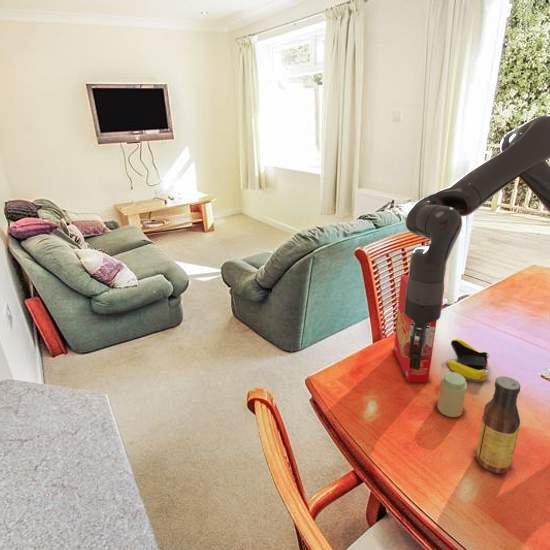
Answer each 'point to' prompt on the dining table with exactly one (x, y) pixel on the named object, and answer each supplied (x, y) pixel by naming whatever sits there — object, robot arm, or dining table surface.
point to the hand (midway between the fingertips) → (416, 360)
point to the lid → (425, 351)
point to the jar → (452, 394)
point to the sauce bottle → (499, 427)
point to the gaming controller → (468, 361)
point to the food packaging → (404, 337)
